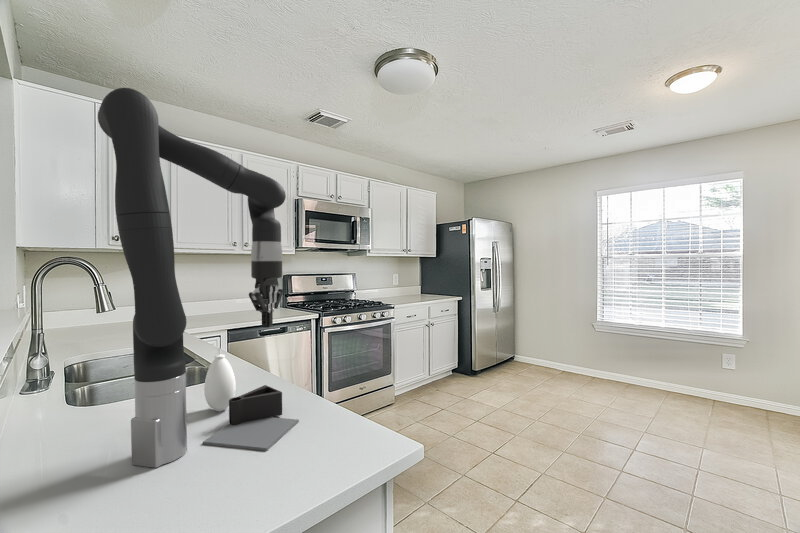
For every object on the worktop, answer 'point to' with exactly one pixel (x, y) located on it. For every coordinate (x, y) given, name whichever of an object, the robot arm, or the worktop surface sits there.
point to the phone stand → (255, 405)
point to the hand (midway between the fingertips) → (267, 326)
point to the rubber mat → (252, 434)
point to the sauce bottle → (219, 383)
